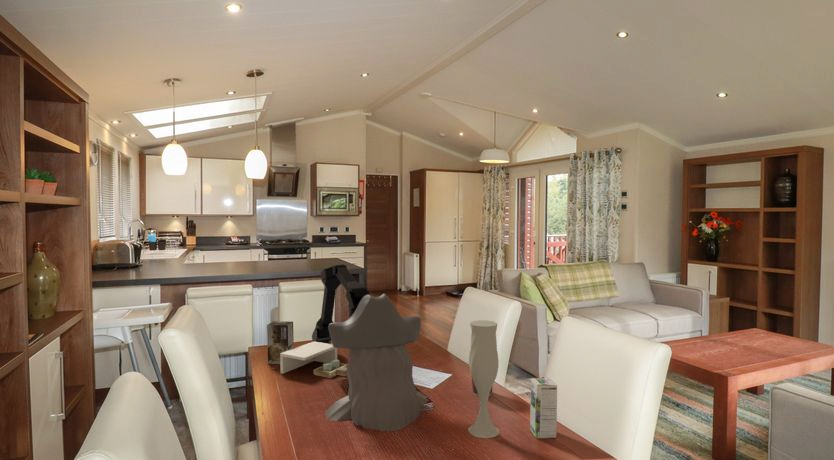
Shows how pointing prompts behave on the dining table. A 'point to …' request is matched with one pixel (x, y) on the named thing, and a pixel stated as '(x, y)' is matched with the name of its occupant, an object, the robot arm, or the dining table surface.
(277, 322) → the coffee box
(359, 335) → the grey sculpted piece
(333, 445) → the dining table surface
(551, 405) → the syrup box
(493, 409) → the dining table surface
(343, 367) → the beige flat piece
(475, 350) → the vase
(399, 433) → the dining table surface
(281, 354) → the cream flanged slab
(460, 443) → the dining table surface
